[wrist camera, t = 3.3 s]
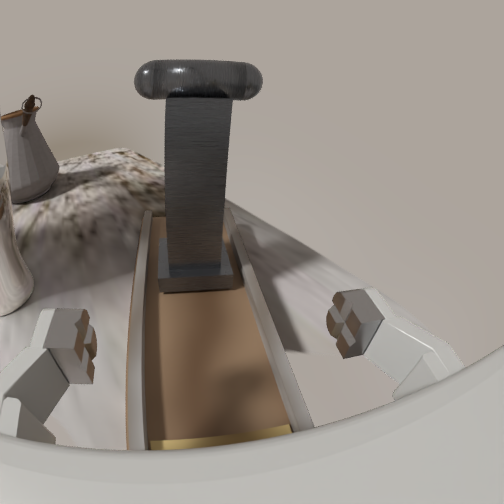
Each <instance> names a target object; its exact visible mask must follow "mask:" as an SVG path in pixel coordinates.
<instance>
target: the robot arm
mask: <svg viewBox="0 0 504 504" xmlns="http://www.w3.org/2000/svg"><path fill="white" fill-rule="evenodd" d="M332 301H333V303H334V305H333V306H332V307H331V308H330V309H329V310H328V314H327V317H326V322H327V328H328V331H329V333H330V335H331V336H333V337H334V338H336V339H337V342H336V346H337V348H338V350H339V352H340V353H341V355H342V357H343V359H345V358H350V357H355V356H359V355H363V356H364V357H365V358H367V359H368V360H369V361H370V362H372V363H373V364H374V365H375V366H377V367H378V368H380V369H381V370H382V371H383V372H384V373H386V374H387V375H388V376H390V377H391V378H392V379H394V380H395V381H396V382H397V383H399V384H400V385H399V386H398V387H397V389H396V390H395V391H394V392H393V395H392V396H393V398H394V400H395V401H394V402H391V403H389V404H386V405H383V406H381V407H378V408H376V409H373V410H370V411H367V412H364V413H361V414H358V415H355V416H352V417H349V418H346V419H343V420H339V421H336V422H333V423H329V424H326V425H322V426H318V427H315V428H311V429H307V430H303V431H299V432H294V433H290V434H286V435H281V436H276V437H271V438H266V439H260V440H255V441H249V442H242V443H236V444H229V445H221V446H212V447H202V448H190V449H175V450H107V449H92V448H81V447H71V446H63V445H56V444H55V441H56V438H55V436H54V435H53V434H52V433H51V432H50V431H49V430H48V429H47V428H46V427H45V426H44V425H43V424H44V423H45V421H46V420H47V418H48V417H49V415H50V414H51V412H52V411H53V409H54V408H55V406H56V405H57V403H58V402H59V400H60V399H61V397H62V396H63V394H64V393H65V391H66V390H67V388H68V387H69V386H70V385H69V384H93V378H94V369H95V367H94V364H93V362H92V360H93V359H94V357H95V356H96V352H97V339H96V334H95V331H94V328H93V327H92V326H91V325H89V319H90V317H89V315H88V312H87V310H85V309H60V308H57V309H50V308H44V309H43V310H42V311H41V313H40V316H39V319H38V322H37V325H36V328H35V331H34V334H33V337H32V340H31V343H30V346H29V347H25V348H24V349H23V350H22V351H21V352H20V353H19V354H18V355H17V356H16V357H15V358H14V359H13V360H12V361H11V362H10V363H9V364H8V365H7V366H6V367H5V368H4V369H3V370H2V371H1V372H0V504H504V345H503V346H501V347H500V348H498V349H497V350H495V351H493V352H492V353H490V354H488V355H487V356H485V357H483V358H482V359H480V360H478V361H477V362H475V363H473V364H471V365H470V366H468V367H465V366H464V364H463V363H462V362H461V360H460V359H459V357H458V356H457V355H456V353H455V352H454V351H453V349H452V348H451V346H450V345H449V344H448V343H447V342H445V341H443V340H441V339H440V338H438V337H436V336H434V335H433V334H431V333H429V332H427V331H426V330H424V329H422V328H420V327H418V326H417V325H415V324H413V323H411V322H410V321H408V320H406V319H404V318H402V317H401V316H399V317H397V316H396V315H395V313H394V312H393V311H392V309H391V308H390V307H389V305H388V304H387V303H386V301H385V300H384V299H383V297H382V296H381V295H380V293H379V292H378V291H377V289H375V288H373V287H370V288H363V289H356V290H349V291H341V292H337V293H336V294H335V295H334V297H333V300H332Z"/></svg>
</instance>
